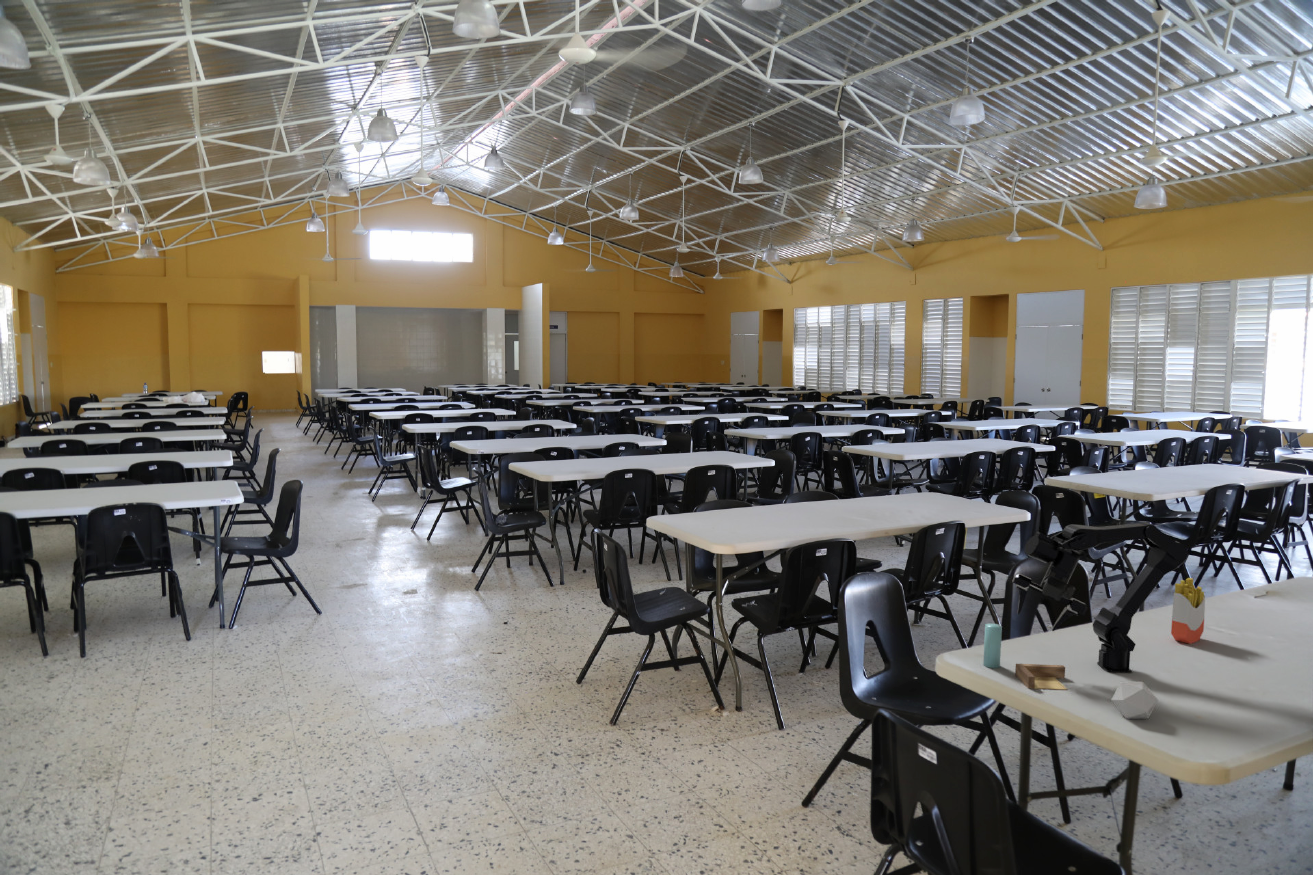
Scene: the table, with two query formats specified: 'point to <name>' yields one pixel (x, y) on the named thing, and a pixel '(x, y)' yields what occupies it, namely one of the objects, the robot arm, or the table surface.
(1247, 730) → the table surface
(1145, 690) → the die
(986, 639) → the cylindrical block
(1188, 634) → the french fries container
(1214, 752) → the table surface
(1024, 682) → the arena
